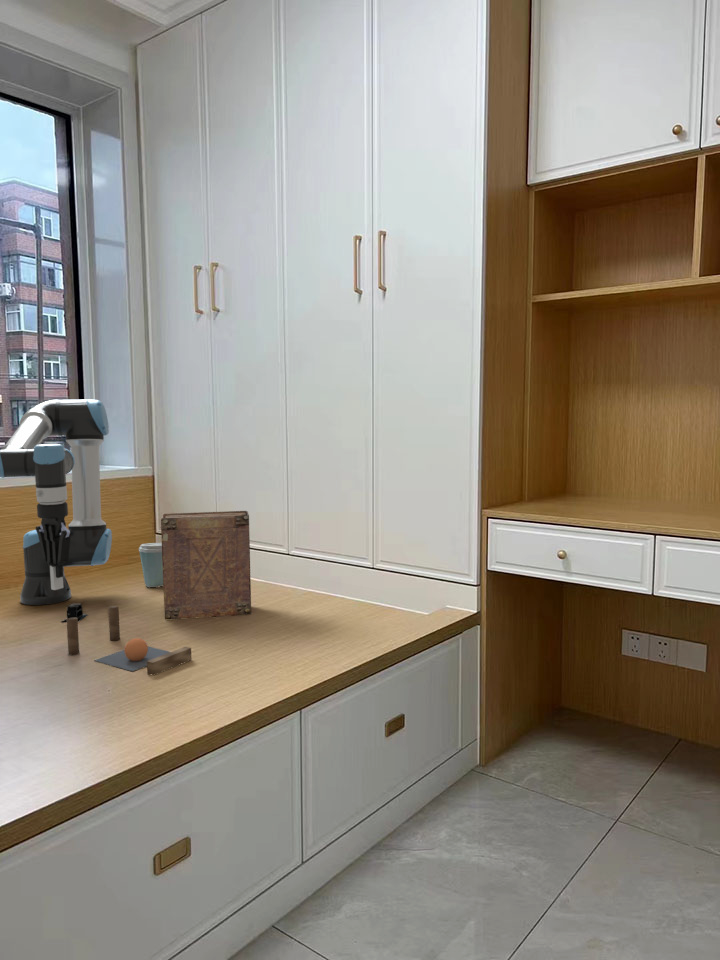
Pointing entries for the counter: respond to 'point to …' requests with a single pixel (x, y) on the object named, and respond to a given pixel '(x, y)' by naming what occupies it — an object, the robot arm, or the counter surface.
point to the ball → (136, 649)
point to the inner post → (114, 623)
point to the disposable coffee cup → (152, 564)
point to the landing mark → (124, 663)
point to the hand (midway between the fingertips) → (57, 588)
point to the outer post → (72, 636)
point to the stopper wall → (168, 660)
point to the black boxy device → (75, 612)
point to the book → (206, 564)
